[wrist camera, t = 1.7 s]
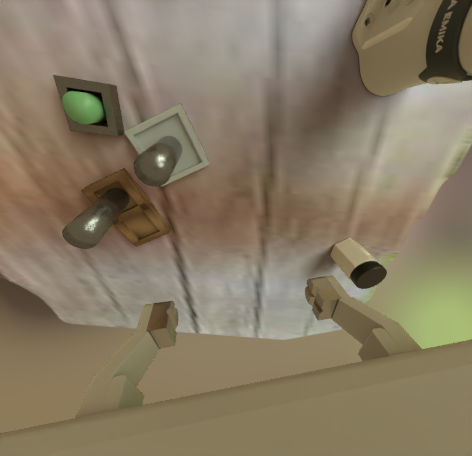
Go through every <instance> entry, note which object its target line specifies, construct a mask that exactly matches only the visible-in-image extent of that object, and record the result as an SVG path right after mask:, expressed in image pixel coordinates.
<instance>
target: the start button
mask: <svg viewBox="0 0 472 456" xmlns="http://www.w3.org/2000/svg"><path fill="white" fill-rule="evenodd" d="M62 104H63V107H64V110H65V112H66V113H67V114H68V116H69V117H70V118H71V119H73V120H74V121H76V122H77V123H80V124H92V123H98V122H102V121H104V120H105V119H106V114H105V109H104V104H103V101H102V100H101V99H100V98H99V97H98V96H96V95H94V94H92V93H86V92H75V91H70V92H67V93H65V95H64V96H63V99H62Z"/></svg>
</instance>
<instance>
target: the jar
mask: <svg viewBox="0 0 472 456" xmlns="http://www.w3.org/2000/svg"><path fill="white" fill-rule="evenodd" d="M330 256H331V257H332V259H333V260H334V261H335V262H336V264H337V265H338V266H339V267H340V268H341V270H342V271H343V272H344V273H345V275H346V276H347V277H348V278H349V279H351V280H352V281H353V283H354V284H355V285H356V286H357V287H358V288H361V289H366V288H370V287H373V286H375V285H377V284H379V283H380V282H381V281H382V280H383V279H384V278H385V276H386V274H387V271H386V269H385V268H384V267H383V266H382V265H381V264H380V263H379V262H378V261H377V260H376V259H375V258H374V257H373V256H372V255H370V254H369V253H368V252H367V251H366V250H365V249H364V248H363V247H362V246H361V245H360V244H359V243H357V242H355V241H354V240H352V239H350V238H348V239H345V240H343V241H341V242H339V243H337V244H335V245H334V247H333V250H332V252H331V254H330Z"/></svg>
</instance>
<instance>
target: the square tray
mask: <svg viewBox="0 0 472 456" xmlns="http://www.w3.org/2000/svg"><path fill="white" fill-rule="evenodd" d="M124 133H125V134H126V136H127V137H128V139H129V140H130V142H131V143H132V145H133V146H134V148H135V149H136V150H137V152H138V153H139V155H140V154H141V153H142V152H144V151H145V150H146V149H148V148H149V147H150V146H152V145H153V144H154V143H156V142H157V141H159V140H160V139H161V138H163V137H165V136H172V137H175V138H176V139H177V140H178V141H179V142H180V143H181V146H182V155H181V157H180V158H179V160H178V162H177V164H176V166H175V168H174V170H173V172H172V174H171V176H170V178H169V180H168V181H167V182H166V183H165V184H164V185H166V184H169V183H171V182H173V181H175V180H177V179H179V178H182V177H184V176H186V175H188V174H190V173H192V172H195V171H197V170H199V169H201V168H203V167H205V166H208V165H209V161H208V159H207V157H206V155H205V153H204V150H203V148H202V146H201V144H200V142H199V140H198V138H197V136H196V134H195V132H194V130H193V128H192V126H191V124H190V121H189V119H188V117H187V115H186V113H185V111H184V109H183V107H182V105H181V103H179V104H177V105H176V106H174V107H172V108H170V109H168V110H166V111H164V112H162V113H160V114H158V115H156V116H154V117H152V118H150V119H148V120H146V121H144V122H142V123H140V124H138V125H137V126H135V127H133V128H131V129H129V130H127V131H125V132H124ZM164 185H161V187H162V186H164Z"/></svg>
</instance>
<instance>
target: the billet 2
mask: <svg viewBox="0 0 472 456" xmlns="http://www.w3.org/2000/svg"><path fill="white" fill-rule="evenodd" d="M181 155H182V146H181V143H180V142H179V141H178V140H177V139H176V138H175V137H172V136H165V137H163V138H161V139H160V140H159V141H157V142H156V143H154V144H153V145H152V146H150V147H149V148H148V149H146V150H145V151H144V152H142V153H141V154H140V155H139V156H137V158H136V159H135V162H134V170H135V173H136V175H137V176H138V178H139V179H140V180H141V181H142V182H144V183H145V184H147V185H150V186H161V185H164V184H165V183H166V182H167V181H168V180H169V178H170V176H171V174H172V172H173V170H174V168H175V166H176V164H177V162H178V160H179V158H180V157H181Z"/></svg>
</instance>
